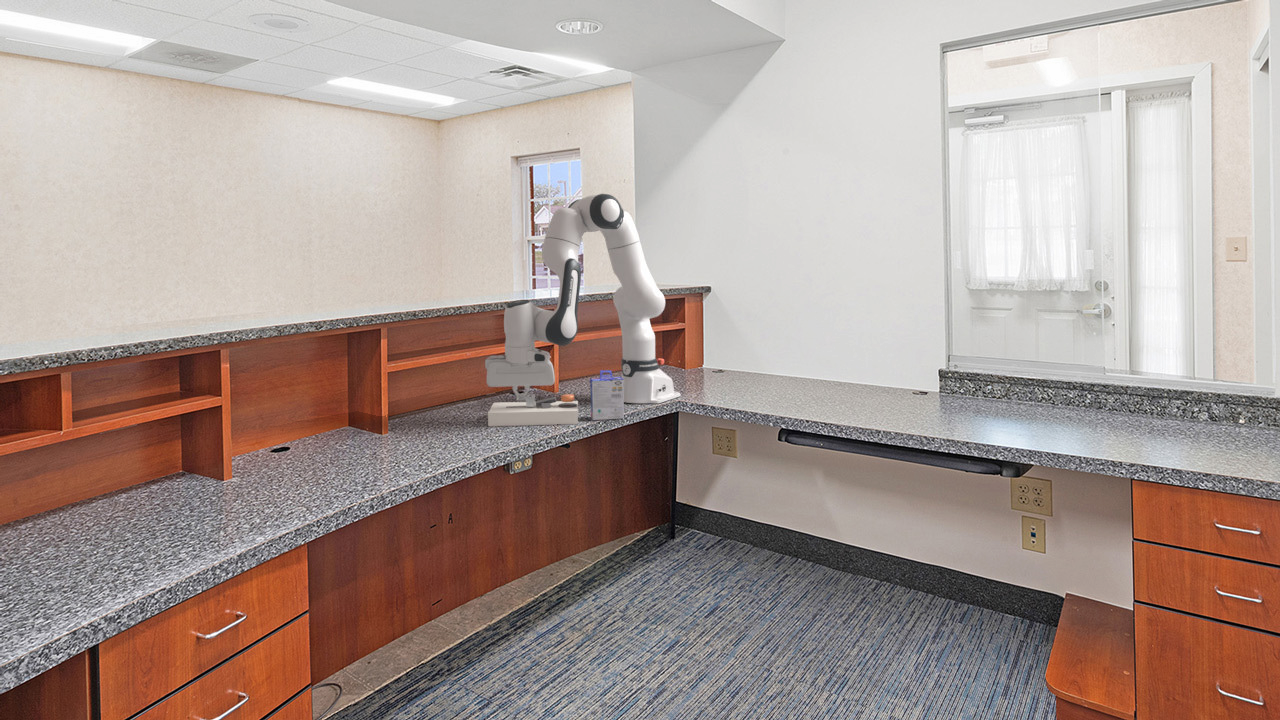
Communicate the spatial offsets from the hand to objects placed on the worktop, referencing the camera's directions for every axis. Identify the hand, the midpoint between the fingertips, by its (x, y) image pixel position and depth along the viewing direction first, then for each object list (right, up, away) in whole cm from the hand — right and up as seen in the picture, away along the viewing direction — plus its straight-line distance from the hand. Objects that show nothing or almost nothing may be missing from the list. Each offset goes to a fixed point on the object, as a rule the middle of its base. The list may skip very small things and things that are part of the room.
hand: (521, 400), depth 217 cm
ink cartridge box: (+26, -6, +3) cm, 26 cm away
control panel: (+4, -6, +1) cm, 7 cm away
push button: (+14, 0, +1) cm, 14 cm away
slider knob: (+3, -2, 0) cm, 3 cm away
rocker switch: (+7, 0, +1) cm, 7 cm away
